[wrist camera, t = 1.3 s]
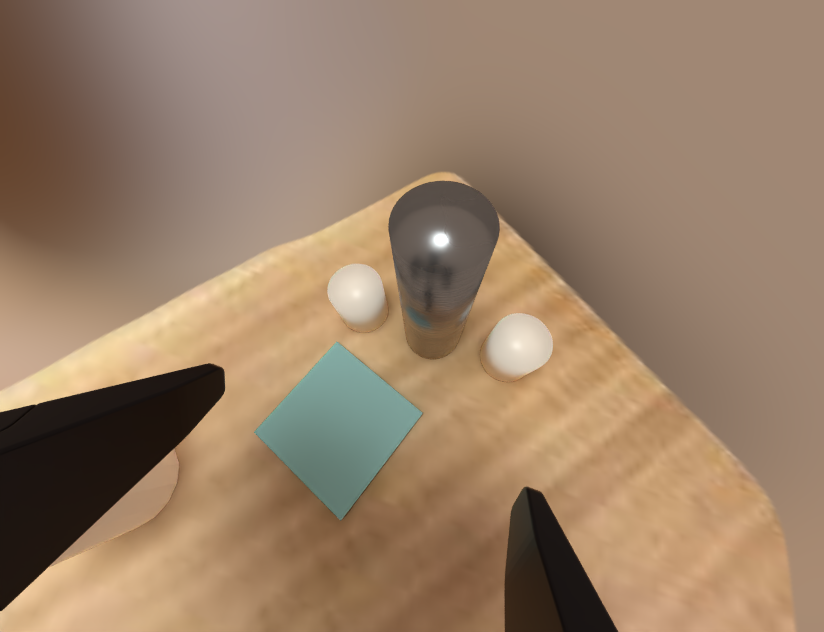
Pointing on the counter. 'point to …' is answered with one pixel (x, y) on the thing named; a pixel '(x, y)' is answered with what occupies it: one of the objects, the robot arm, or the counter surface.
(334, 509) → the teal pad
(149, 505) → the white cylinder
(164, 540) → the counter surface
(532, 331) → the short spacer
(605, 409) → the counter surface
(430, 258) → the dark metallic domed cylinder
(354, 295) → the cylinder
